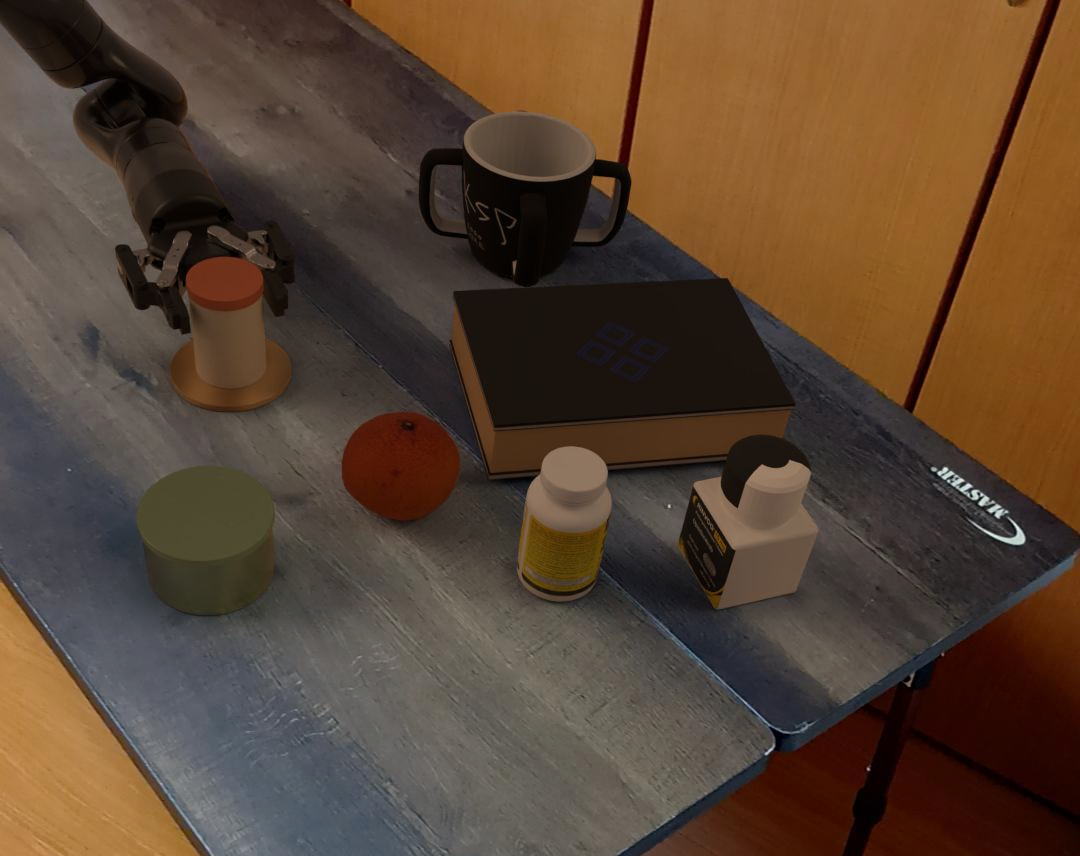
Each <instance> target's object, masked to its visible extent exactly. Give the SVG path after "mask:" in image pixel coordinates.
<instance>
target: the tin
mask: <svg viewBox="0 0 1080 856" xmlns="http://www.w3.org/2000/svg"><path fill="white" fill-rule="evenodd" d="M275 510H276V509H275V504H274V500H273V497H272V495H271V493H270V491H269V490H268V489H267V488H266V486H265V485H263V483H262V482H261V481H260V480H258V479H257V478H256V477H254V476H253V475H250V474H249V473H246V472H244V471H242V470H239V469H236V468H234V467H233V468H232V467H228V466H221V465H198V466H192V467H191V466H190V467H187V468H182V469H179V470H177V471H174V472H171V473H169V474H167V475H165V476H163V477H162V478H160V479H158V480H157V481H156V482H155V483H153V484H151V486H150V487H149V488H147V490H146V491H145V492H144V494H143V495H142V497H141V499H140V500H139V502H138V505H137V508H136V514H135V515H136V516H135V518H136V520H135V521H136V526H137V531H138V534H139V537H140V539H141V541H142V545H143V546H142V547H143V552H144V558H145V566H146V571H147V578H148V582H149V584H150V587H151V589H152V591H153V592H154V594H155V595H156V596H157V598H158V599H160V600H161V602H162V601H163V603H164V604H166V605H167V606H169V607H170V608H172V609H174V610H177V611H179V612H182V613H185V614H190V615H196V616H220V615H225V614H229V613H232V612H236V611H238V610H241V609H243V608H245V607H247V606H248V605H250V604H252V603H254V602H255V601H256V600H258V599H259V598H260V597H261V596H262V595H263V594H264V593H265V592H266V591H267V589H268V588H269V586H270V584H271V583H272V580H273V577H274V574H275V566H276V565H275V547H274V529H273V528H274V525H275V519H276V518H275V517H276V511H275Z"/></svg>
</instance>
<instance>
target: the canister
mask: <svg viewBox="0 0 1080 856" xmlns="http://www.w3.org/2000/svg"><path fill="white" fill-rule="evenodd" d="M186 287H187V289H186V294H187V295H188V302H189V312H190V313H189V315H190V325H191V334H192V340H193V344H194V354H195V364H196V371H197V373H198V375H199V377H200V378H201V379H202V380H203V381H205V382H206V383H208V384H210V385H212V386H215V387H219V388H225V389H236V388H242V387H246V386H249V385H251V384H253V383H255V382H257V381H258V380H259V379H260V378H261V377H262V376H263V375H264V373H265V371H266V349H265V338H266V334H265V314H264V313H265V311H264V296H263V290H264V285H263V275H262V273H261V270H260V269H258V268H257V267H256V266H255V265H254V264H252V263H250V262H248V261H246V260H243V259H239V258H234V257H215V258H210V259H206V260H204V261H201V262H199V263H197V264H196V265H194V266H193V267H192V268H191V269H190V270H189V271H188V273H187V276H186Z"/></svg>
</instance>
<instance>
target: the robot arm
mask: <svg viewBox="0 0 1080 856" xmlns="http://www.w3.org/2000/svg"><path fill="white" fill-rule="evenodd" d="M0 26H2V27H3V29H4V30H5V31H6V32H7V33H8V34H9V35H10V37H12V39H13V40H14V41H15V42H16V43H17V44H18V45H19V47H21V49H22V50H23V51H24V52H25V53H26V54H27V55H28V57H30V59H31V60H32V61H33V62H34V63H35V64H36V65H37V66H38V67H39V69H40V70H41V71H42V72H43V73H44V74H45V75H46V76H47V77H48V78H49V79H50V80H51V81H52V82H53V83H54V84H55V85H57V86H59V87H61V88H64V89H69V90H76V89H81V88H84V87H88V86H91V85H94V84H96V83H99V82H100V83H99V84H98V85H96V86H95V87H94V88H92V89H91V90H89V91H88V92H86V93H85V94H84V95H82V96H81V97H80V98H79V99H78V101H77V102H76V104H75V105H74V108H73V112H72V125H73V128H74V131H75V132H76V133H75V134H77V136H78V138H79V139H80V141H81V142H82V143H83V144H84V146H85V147H86V148H87V149H88V150H89V151H90V152H91V153H93V155H95V156H96V157H97V158H98V159H99V160H101V161H102V162H103V163H105V164H106V165H107V166H109V167H111V168H112V169H113V170H114V171H115V172H116V174H117V176H118V178H119V180H120V182H121V184H122V186H123V188H124V191H125V193H126V197H127V201H128V205H129V207H130V210H131V215H132V217H133V219H134V222H135V223H136V224H137V225H138V227H139V230H140V232H141V234H142V236H143V238H144V240H145V242H146V244H147V247H146V248H142V249H138V250H132V248H131V247H130V245H128V244H125V243H121V244H120V243H119V244H117V245H115V247H114V252H115V260H116V267H117V274H118V277H119V279H120V280H121V282H122V284H123V286H124V288H125V290H126V292H127V294H128V297H129V298H130V300H131V302H132V305H133V306H134V308H135V309H136V310H138V311H147V310H148V309H150V307H151V306H155V307H158V308H159V309H160V311H162V313H163V316H164V317H165V320H166V322H167V324H168V326H169V328H171V329H172V330H173V331H176V330H179V332H180V334H181V335H182V336H183V335H188V334H192V326H191V317H190V313H189V310H188V308H187V306H186V304H185V302H184V299H183V297H184V295H185V293H186V292H187V287H186V276H187V273H188V271H189V270H190V269H191V268H192V267H193V266H194V265H196V264H197V263H199V262H201V261H204V260H206V259H210V258H215V257H234V258H239V259H243V260H246V261H248V262H250V263H252V264H254V265H255V266H256V267H257V268H258V269H259V270H260V271H261V273H262V275H263V285H264V290H263V298H264V300H265V302H266V303H267V305H268V306H269V308H270V310H271V312H272V314H273V316H274V317H275V318H279V317H284V316H285V310H288V309H289V290H288V288H287V286H286V285H292V284H294V283H295V282H296V274H295V254H294V252H293V250H292V248H291V246H290V244H289V242H288V240H287V239H286V236H285V234H284V232H283V231H282V229H281V227H280V225H279V223H278V222H277V221H275V220H267V221H264V222H263V229H259V230H253V231H247V230H246V229H245V228H243V227H242V226H240V225H238V223H237V222H236V220H235V218H234V216H233V214H232V212H231V210H230V208H229V207H228V205H227V203H226V202H225V199H224V197H223V196H222V194H221V192H220V189H218V187H217V185H216V183H215V181H214V180H213V179H214V178H213V177H212V176H211V174H210V173H209V171H208V169H207V168H206V166H205V165H204V164H203V163H202V162H201V160H199V158H198V155H197V154H196V152H195V151H194V148H193V147H192V145H191V143H190V142H189V139H188V138H187V136H186V134H185V133H184V132H183V131H182V129H181V128H180V127H181V126H182V125H183V124H184V122H185V121H186V119H187V116H188V113H189V112H188V111H189V105H188V98H187V95H186V92H185V90H184V89H183V86H182V84H181V83H180V82H179V81H178V79H177V78H176V77H175V76H174V75H173V74H172V73H171V72H170V71H169V70H168V69H167V68H165V67H164V66H163V65H162V64H161V63H159V62H158V61H156V60H155V59H153V58H152V57H150V56H149V55H147V54H145V53H144V52H142V51H141V50H139V49H138V48H136V47H135V46H133V45H132V44H131V43H130V42H128V41H127V40H125V39H124V38H123V37H121V36H120V35H119V34H118V33H116V31H114V30H113V29H112V28H111V27H110V26H109V25H108V23H106V21H105V20H104V19H103V18H102V17H101V16H100V14H99V13H98V12H97V11H96V9H95V7H93V6H92V5H91V3H90V2H89V1H88V0H0ZM101 81H102V82H101ZM258 251H259V252H260V253H259V252H258ZM148 265H150V266H151V267H152V268H154V269H156V270H158V271H160V273H159V275H158V277H157V279H156V281H155V282H154V281H148V279H147V277H146V275H145V272H146V270H147V269H146V267H147V266H148Z"/></svg>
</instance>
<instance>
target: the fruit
mask: <svg viewBox="0 0 1080 856" xmlns="http://www.w3.org/2000/svg"><path fill="white" fill-rule="evenodd" d="M460 472H461V455H460V450H459V448H458V446H457V444H456V443H455V441H454V440H453V438H452V437H451V436H450V434H449V432H447V430H446V429H445V428H444V427H443V426H442V425H441V424H439V423H438V422H437V421H435V420H434V419H432V418H430V417H428V416H426V415H423V414H422V413H418V412H412V411H396V412H385V413H381V414H379V415H376V416H374V417H373V418H370V419H368V420H367V421H365V422H363V423H362V424H360V425H359V426H358V427H357V428H356V429H355V430H354V432H352V434H351V435H350V436H349V439H348V441H347V443H346V445H345V448H344V450H343V452H342V458H341V479H342V482H343V486H344V488H345V490H346V491H347V492H348V494H349V495H350V496H351V497H352V498H353V499H354V500H356V502H358V503H359V504H360V505H361V506H363V507H364V508H365V509H366V510H368V511H370V512H371V513H372V512H373V513H374V514H377V515H379V516H381V517H383V518H386V519H391V520H396V521H411V520H412V521H413V520H419V519H422V518H425V517H426V516H428V515H429V514H431V513H433V512H434V511H436V510H437V509H439V508H440V507H441V506H442V505H443V504H445V502H446V501H447V500H448V499H449V497H450V496H451V495H452V492H453V491H454V489H455V486H456V484H457V481H458V478H459V476H460Z"/></svg>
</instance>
